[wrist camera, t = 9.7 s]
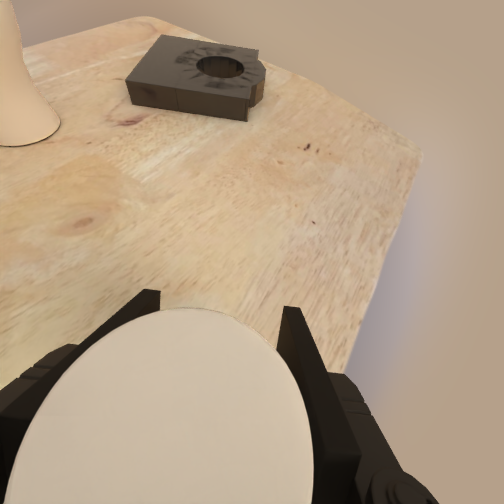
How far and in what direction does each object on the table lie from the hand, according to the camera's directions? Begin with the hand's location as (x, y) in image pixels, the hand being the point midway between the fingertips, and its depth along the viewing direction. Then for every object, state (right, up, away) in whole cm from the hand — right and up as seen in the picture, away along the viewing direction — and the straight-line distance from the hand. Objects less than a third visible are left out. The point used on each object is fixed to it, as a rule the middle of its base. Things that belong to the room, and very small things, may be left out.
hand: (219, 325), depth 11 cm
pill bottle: (-1, -5, +1) cm, 5 cm away
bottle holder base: (-6, +30, +26) cm, 40 cm away
